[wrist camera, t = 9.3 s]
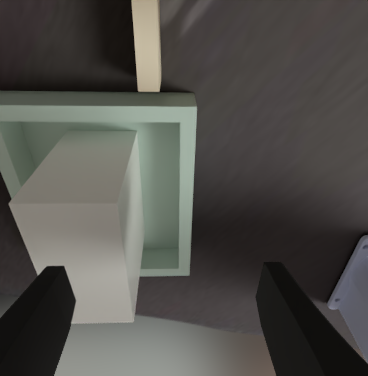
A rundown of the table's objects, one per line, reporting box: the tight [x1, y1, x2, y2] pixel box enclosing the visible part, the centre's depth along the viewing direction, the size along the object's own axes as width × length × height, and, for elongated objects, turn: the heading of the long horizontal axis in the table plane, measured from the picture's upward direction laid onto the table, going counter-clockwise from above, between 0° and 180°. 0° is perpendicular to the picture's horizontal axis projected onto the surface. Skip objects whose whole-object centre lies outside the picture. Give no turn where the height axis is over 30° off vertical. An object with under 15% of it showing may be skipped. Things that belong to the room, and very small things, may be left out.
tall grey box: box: [8, 130, 145, 324], centre depth 16 cm, size 9×4×7 cm, turn 179°
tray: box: [0, 91, 197, 276], centre depth 18 cm, size 13×11×2 cm
